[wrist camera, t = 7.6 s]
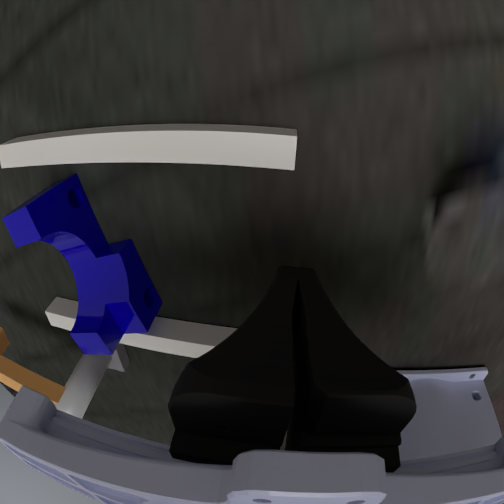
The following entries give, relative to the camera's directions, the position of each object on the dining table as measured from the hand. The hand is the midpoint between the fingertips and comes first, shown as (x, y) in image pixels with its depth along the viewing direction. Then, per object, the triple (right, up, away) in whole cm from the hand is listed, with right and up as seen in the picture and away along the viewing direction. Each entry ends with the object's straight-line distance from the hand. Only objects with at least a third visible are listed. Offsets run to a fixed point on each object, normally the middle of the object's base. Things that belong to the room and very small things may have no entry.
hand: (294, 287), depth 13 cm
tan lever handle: (-16, -4, +6) cm, 17 cm away
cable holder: (-9, +2, +3) cm, 10 cm away
